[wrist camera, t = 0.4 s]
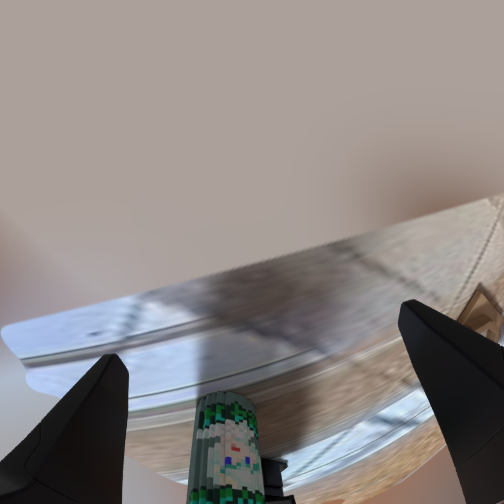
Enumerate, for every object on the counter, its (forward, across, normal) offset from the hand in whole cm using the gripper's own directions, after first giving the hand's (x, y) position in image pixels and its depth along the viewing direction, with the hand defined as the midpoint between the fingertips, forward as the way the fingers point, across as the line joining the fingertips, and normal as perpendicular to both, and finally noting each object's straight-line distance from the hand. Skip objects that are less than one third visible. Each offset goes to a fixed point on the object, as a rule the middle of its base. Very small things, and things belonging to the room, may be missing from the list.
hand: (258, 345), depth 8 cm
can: (+11, +6, +21) cm, 25 cm away
